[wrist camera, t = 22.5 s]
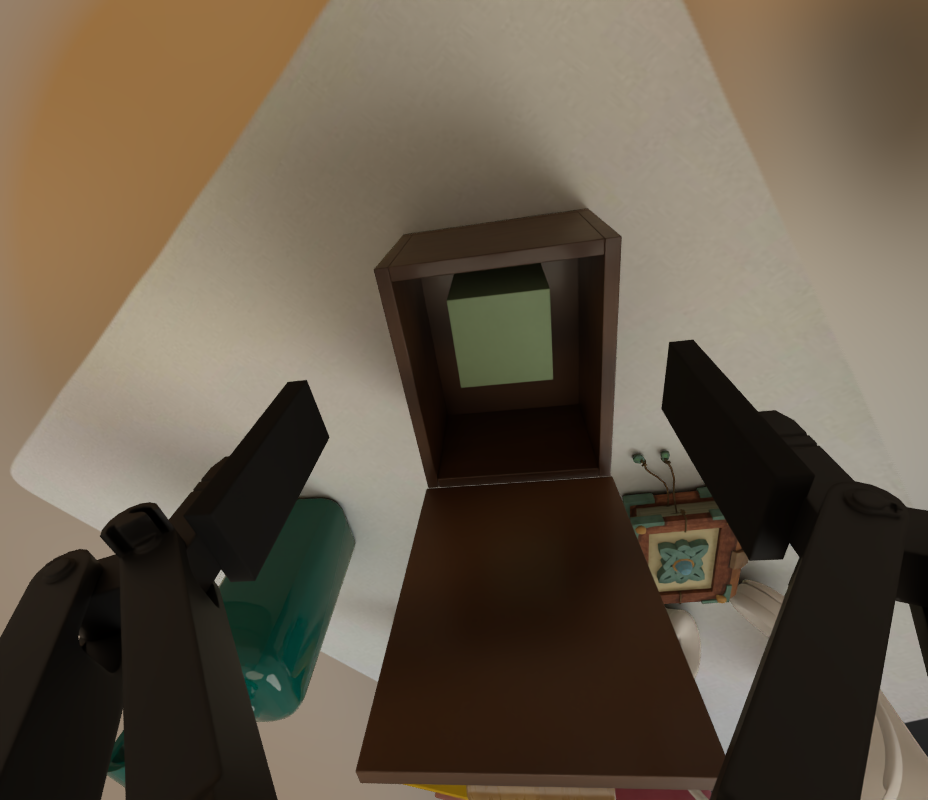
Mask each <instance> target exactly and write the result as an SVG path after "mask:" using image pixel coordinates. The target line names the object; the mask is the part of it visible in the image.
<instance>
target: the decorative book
mask: <svg viewBox="0 0 928 800" xmlns="http://www.w3.org/2000/svg"><path fill="white" fill-rule="evenodd" d="M669 456H670V454H669V452H668V451H663V452H661V457H662V458H661V460H662V461H663V462H664V463H666V464H668V465H669V467H670V469H671V472H672V475H673V493H671V494H669V492H668V487H667V485H666V483H665V482H664V481H663V480H662V479H660V478H659V477H658V476H657V475H655V474H653V473H652V472H650V471H649V470H648V469H647V467H646V466H647V464H646V460H645V459H644V457H643V456H642V455H640V454H636V455H635V456H634V457H633V461H634V462H635V463H639V464H640V463H643V464H642V466H644V467H645V469H646V470H647V471H648V472H649V473H650V474H652V475H654V476H655V477H657V478H658V479H659V480H660V481H662V482H663V483H664V485H665V487H666V489H667V494H661V495H653V494H652V493H646V494H637V495H628V496H623V504H624V507H625V509H626V512H627V514H628V517H629V519H630V521H631V524H632V526H633V529H634V531H635V534H636V536H637V539H638V541H639V544H640V546H641V549H642V551H643V554H644V556H645V558H646V561H647V563H648V566H649V568H650V571H651V573H652V576H653V578H654V581H655V583H656V586H657V588H658V591H659V593H660V595H661V598H662V600H663V603H664V604H670V603H679V604H681V603H685V602H699V601H701V602H702V604H707V603H725V602H729V600H730V598H732V597H733V596H735V595H736V592H737V587H738V582H739V576H740V571H741V568H742V567H744V566H745V565H746V564H747V563H748V558H747V556H746V554H745V553H744V551H743V549H742V547H741V546H740V544H739V542H738V540H737V539H736V537H735V535H734V533H733V532H732V530H731V528H730V527H729V525H728V523H727V521H726V520H725V518H724V516H723V514H722V513H721V511H720V509H719V507H718V506H717V504H716V502H715V501H714V499H713V497H712V495H711V494H710V492H709V490H708V488H707V487H702V488H697V491H689V492H680V493H675V476H674V473H673V469H672V467H671V465H670V463H671V462H670V461H667V460H668V459H669Z"/></svg>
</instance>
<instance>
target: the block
mask: <svg viewBox="0 0 928 800" xmlns="http://www.w3.org/2000/svg"><path fill="white" fill-rule="evenodd" d="M447 306H448V312H449V318H450V324H451V330H452V336H453V342H454V348H455V354H456V360H457V366H458V372H459V378H460V384H461V388H465V387H476V386H486V385H497V384H508V383H519V382H530V381H541V380H552V379H553V361H552V334H551V306H550V288H549V285H548V282H547V279H546V277H545V274H544V271H543V268H542V265H541V263H535V264H528V265H520V266H512V267H504V268H496V269H489V270H481V271H473V272H465V273H457V274H454V276H453V279H452V283H451V287H450V291H449V294H448V298H447Z"/></svg>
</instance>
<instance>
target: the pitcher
mask: <svg viewBox="0 0 928 800" xmlns="http://www.w3.org/2000/svg"><path fill="white" fill-rule="evenodd" d="M354 547H355V540H354V538H353V535H352V532H351V530H350V527H349V525H348V522H347V520H346V517H345V514H344V512H343V509H342V508H341V507H340V506H339V505H338V504H337V503H335V502H334V501H332V500H330V499H325V498H314V499H297V501H296V503H295V505H294V507H293V509H292V511H291V513H290V515H289V516H288V518H287V520H286V522H285V524H284V526H283V528H282V530H281V532H280V534H279V536H278V538H277V540H276V542H275V543H274V545H273V547H272V549H271V551H270V553H269V555H268V557H267V559H266V561H265V563H264V565H263V567H262V569H261V571H260V572H259V574H258V576H257V578H256V580H255V581H243V582H230V581H229V579H228V578H227V577H226V575H225V577H224V578H223V580H222V582H221V583H220V585H219V588H220V592H221V596H222V599H223V603H224V607H225V610H226V614H227V618H228V621H229V625H230V628H231V632H232V636H233V639H234V643H235V647H236V650H237V654H238V658H239V661H240V665H241V669H242V672H243V676H244V679H245V683H246V687H247V690H248V694H249V698H250V701H251V705H252V709H253V712H254V716H255V719H256V722H265V721H266V722H267V721H277V720H281V719H285V718H287V717H289V716H290V715H291V714H293V713H294V712H295V711H296V710H297V709H298V708H299V706H300V705H301V703H302V701H303V700H304V698H305V695H306V692H307V688H308V686H309V683H310V680H311V677H312V673H313V671H314V667H315V664H316V662H317V658H318V656H319V653H320V650H321V647H322V644H323V641H324V638H325V635H326V632H327V629H328V626H329V623H330V620H331V617H332V614H333V611H334V608H335V605H336V602H337V599H338V596H339V593H340V590H341V587H342V584H343V581H344V578H345V575H346V572H347V569H348V566H349V563H350V560H351V557H352V554H353V551H354ZM107 775H108V776H109V777H110V778H112V779H114V780H115V781H116V782H118V783H119V784H121V785H122V786H123V787H125V754H124V730H123V732H122V733H121V734H120V736H119V737H118V739H117V740H116V742H115V743H114V747H113V751H112V755H111V760H110V764H109V768H108V772H107Z"/></svg>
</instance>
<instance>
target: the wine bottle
mask: <svg viewBox="0 0 928 800" xmlns="http://www.w3.org/2000/svg"><path fill="white" fill-rule="evenodd" d="M878 699H879V701H880V702H881V704H882V705H883V707H884V709H885V711H886V712H887V714H888V716H889V718H890V720H891V722H892V725H893V727H894V730H895V732H896V735H897V738H898V742H899V745H900V750H901V755H902V766H903V768H902V781H901V786H900V790H899V793H898V796H897V798H896V800H928V757H927V756H926V755H925V753H924V752H923V750H922V749H921V747H920V746H919V745H918V743H917V742H916V740H915V739H914V737H913V736H912V734H911V733H910V731H909V730H908V729H907V727H906V726H905V724H904V723H903V721H902V720H901V718H900V717H899V716H898V714H897V713H896V711H895V710H894V708H893V707H892V705H891V704H890V702H889V701H888V700H887V698H886V697H885V695H884V694H883V692H882V691H881V689H880V691H879V696H878ZM884 769H885V745H884V739H883V735H882V731H881V728H880V725H879V722H878V720H877V717H876V715H875V719H874V725H873V731H872V736H871V742H870V748H869V754H868V759H867V765H866V771H865V776H864V782H863V788H862V794H861V799H860V800H882V799H883V797H884V795H885V793H886V790H885V789H884V787H883V775H884Z"/></svg>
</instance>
